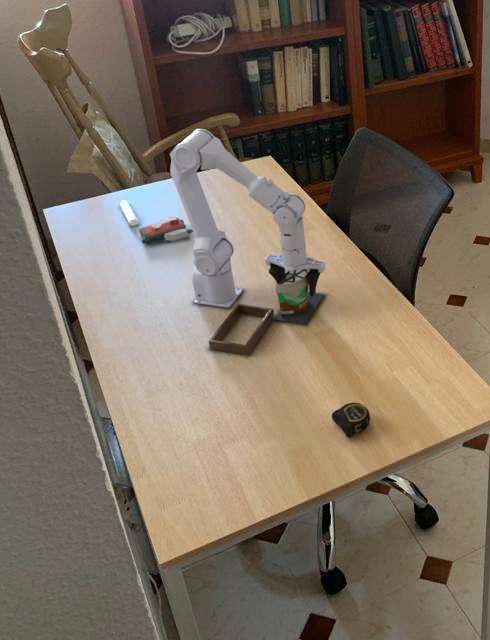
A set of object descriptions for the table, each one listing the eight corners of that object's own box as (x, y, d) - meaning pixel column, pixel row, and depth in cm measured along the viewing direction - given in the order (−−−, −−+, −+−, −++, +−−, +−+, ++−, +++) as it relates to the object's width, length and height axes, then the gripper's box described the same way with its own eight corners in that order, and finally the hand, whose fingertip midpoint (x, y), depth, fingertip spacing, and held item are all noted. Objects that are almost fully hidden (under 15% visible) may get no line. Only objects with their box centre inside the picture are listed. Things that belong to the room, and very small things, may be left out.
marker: (124, 205, 244) (136, 227, 233) (117, 203, 243) (128, 225, 231) (126, 197, 244) (139, 219, 232) (120, 196, 242) (131, 217, 231)
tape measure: (331, 422, 163) (329, 409, 161) (360, 410, 167) (359, 396, 165) (346, 442, 159) (345, 429, 157) (376, 429, 162) (375, 415, 160)
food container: (303, 322, 192) (299, 288, 187) (279, 319, 193) (275, 285, 188) (320, 294, 202) (317, 261, 197) (297, 291, 203) (293, 258, 198)
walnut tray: (210, 349, 184) (208, 341, 182) (239, 311, 196) (237, 303, 195) (247, 355, 182) (246, 346, 180) (274, 316, 195) (273, 308, 193)
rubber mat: (274, 320, 193) (274, 319, 193) (294, 291, 204) (294, 290, 204) (305, 325, 192) (305, 324, 192) (324, 295, 203) (324, 294, 203)
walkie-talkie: (146, 250, 220) (215, 230, 230) (143, 236, 218) (212, 216, 228) (136, 237, 226) (203, 217, 236) (133, 223, 224) (201, 204, 234)
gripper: (257, 249, 186) (264, 297, 193) (316, 257, 184) (320, 305, 191) (269, 234, 192) (275, 281, 199) (326, 242, 190) (330, 289, 197)
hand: (298, 292), depth 196 cm, fingers open, 7 cm apart
